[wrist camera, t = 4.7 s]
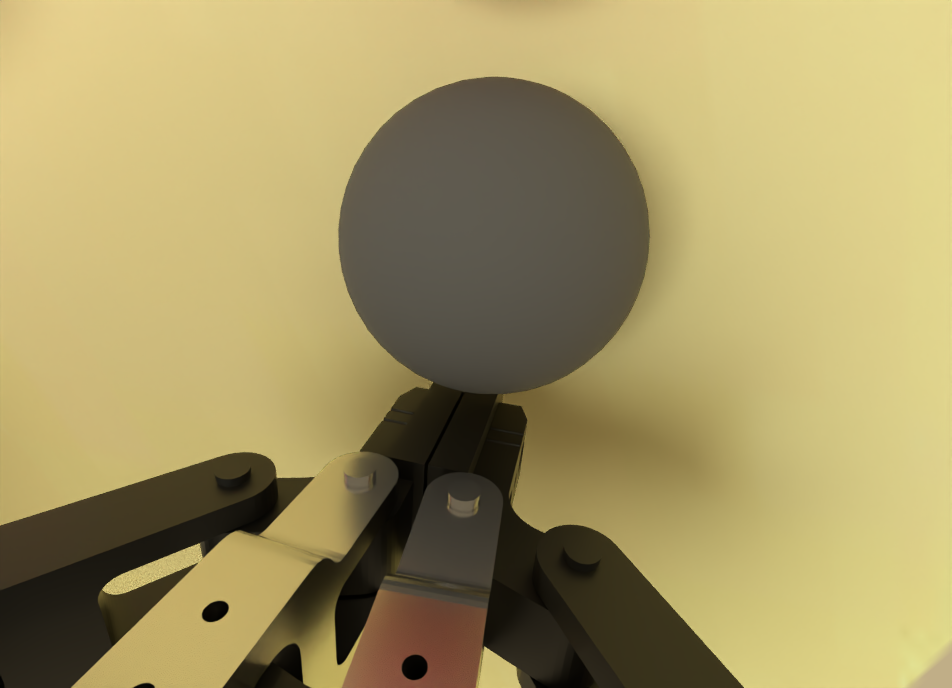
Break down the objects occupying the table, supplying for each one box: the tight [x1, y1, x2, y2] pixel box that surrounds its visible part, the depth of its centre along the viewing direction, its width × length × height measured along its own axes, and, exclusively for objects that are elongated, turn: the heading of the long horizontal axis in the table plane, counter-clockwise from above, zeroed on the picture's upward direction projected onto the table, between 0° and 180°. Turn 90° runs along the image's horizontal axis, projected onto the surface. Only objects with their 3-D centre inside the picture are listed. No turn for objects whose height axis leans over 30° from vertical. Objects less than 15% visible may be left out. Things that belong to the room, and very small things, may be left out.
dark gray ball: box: [339, 77, 650, 394], centre depth 10 cm, size 6×6×6 cm
